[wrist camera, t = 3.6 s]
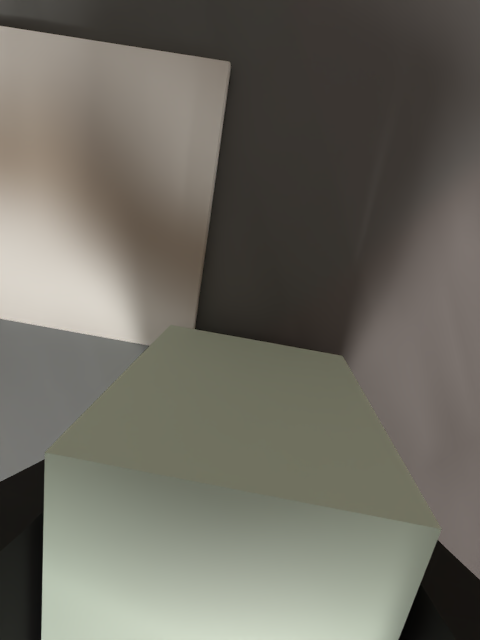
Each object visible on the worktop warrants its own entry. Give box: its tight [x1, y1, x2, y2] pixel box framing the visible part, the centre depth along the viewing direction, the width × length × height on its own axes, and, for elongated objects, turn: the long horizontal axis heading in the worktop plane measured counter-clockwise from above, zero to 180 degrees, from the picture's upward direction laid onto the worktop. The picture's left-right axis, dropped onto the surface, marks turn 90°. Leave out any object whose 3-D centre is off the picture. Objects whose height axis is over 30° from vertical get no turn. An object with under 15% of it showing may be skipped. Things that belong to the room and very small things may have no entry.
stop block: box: [41, 325, 442, 640], centre depth 8 cm, size 6×5×6 cm
